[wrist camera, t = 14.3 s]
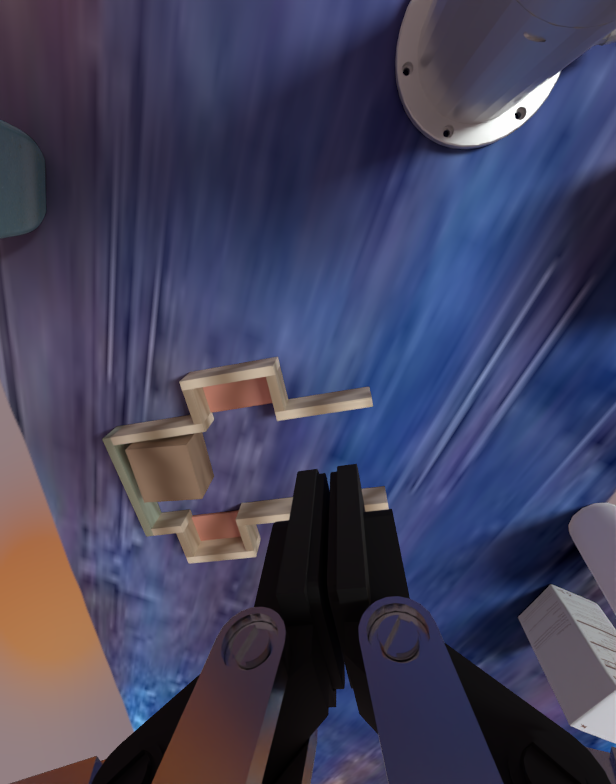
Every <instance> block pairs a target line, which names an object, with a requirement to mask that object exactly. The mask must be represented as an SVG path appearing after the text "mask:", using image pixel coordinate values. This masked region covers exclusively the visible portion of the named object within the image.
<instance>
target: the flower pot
mask: <svg viewBox="0 0 616 784" xmlns="http://www.w3.org/2000/svg"><path fill="white" fill-rule="evenodd" d="M45 214H46V186H45V159H44V157H43V154H42V152H41V150H40V149H39V147H38V145H37V144H36V143H35V142H34V140H33V139H32V138H31V137H30V136H28V135H27V134H26V133H24V132H23V131H21V130H20V129H18V128H16V127H14V126H12V125H10V124H8V123H6V122H4V121H2V120H0V239H1V238H7V237H12V236H18V235H22V234H26V233H29V232H31V231H33V230H34V229H36V228H37V227H38V226H39V225H40V224H41V222H42V220H43V219H44V216H45Z"/></svg>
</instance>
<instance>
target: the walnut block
mask: <svg viewBox="0 0 616 784" xmlns="http://www.w3.org/2000/svg"><path fill="white" fill-rule="evenodd" d="M125 451H126V454H127V456H128V459H129V462H130V465H131V467H132V470H133V473H134V476H135V478H136V481H137V484H138V487H139V489H140V492H141V495H142V498H143V500H144V503H146V502H161V501H176V500H192V499H202V498H203V496H204V494H205V493H206V491H207V489H208V487H209V485H210V483H211V481H212V479H213V478H214V474H213V471H212V467H211V463H210V460H209V456H208V452H207V449H206V445H205V441H204V438H203V434H202V432H200V433H193V434H187V435H180V436H173V437H167V438H160V439H154V440H147V441H140V442H134V443H132V444H131V445H130V446H129V447H128V448H127V449H126V450H125Z"/></svg>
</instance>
